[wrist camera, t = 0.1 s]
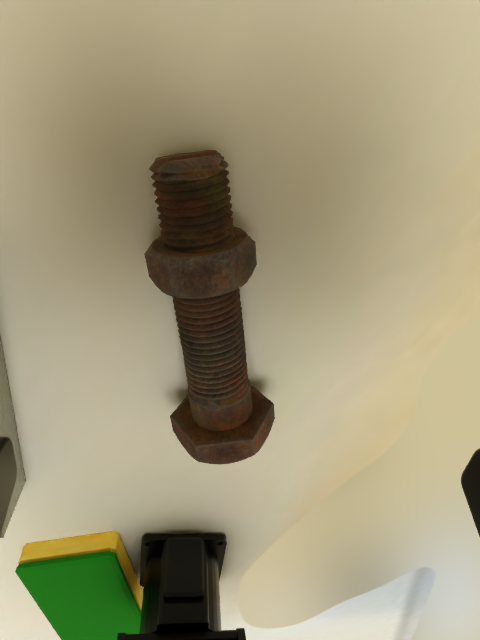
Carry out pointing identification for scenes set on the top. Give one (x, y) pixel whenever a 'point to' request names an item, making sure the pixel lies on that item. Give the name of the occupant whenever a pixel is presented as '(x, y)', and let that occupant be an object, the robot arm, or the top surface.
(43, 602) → the dish sponge
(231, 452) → the bolt
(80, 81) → the top surface
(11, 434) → the hole plate
